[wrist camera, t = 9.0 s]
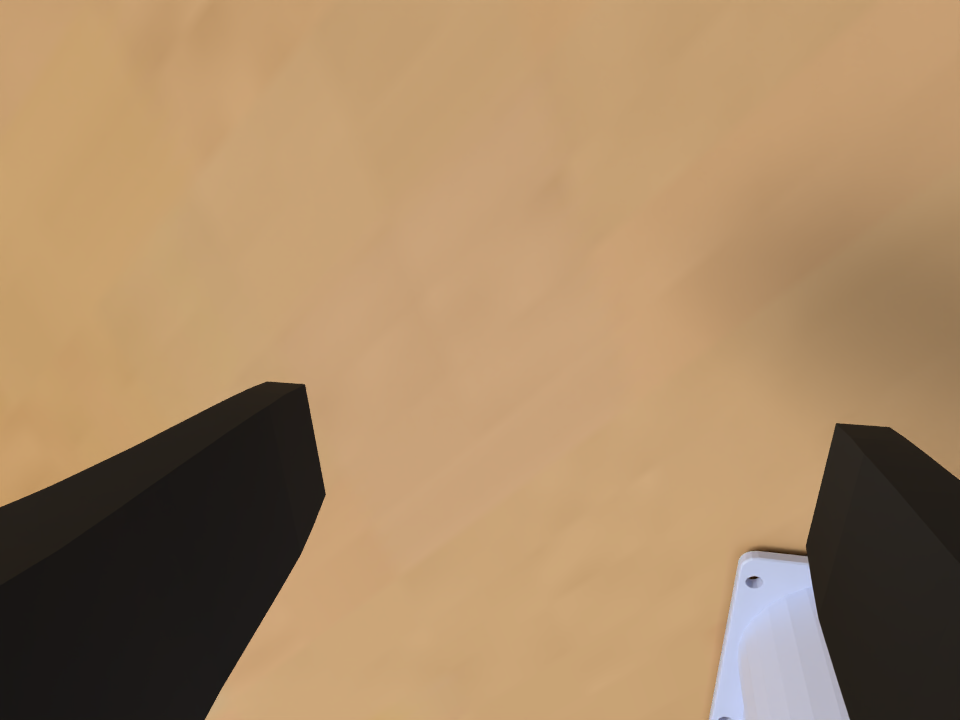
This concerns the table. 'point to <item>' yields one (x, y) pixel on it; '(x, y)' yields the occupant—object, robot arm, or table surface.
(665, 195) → the table surface
